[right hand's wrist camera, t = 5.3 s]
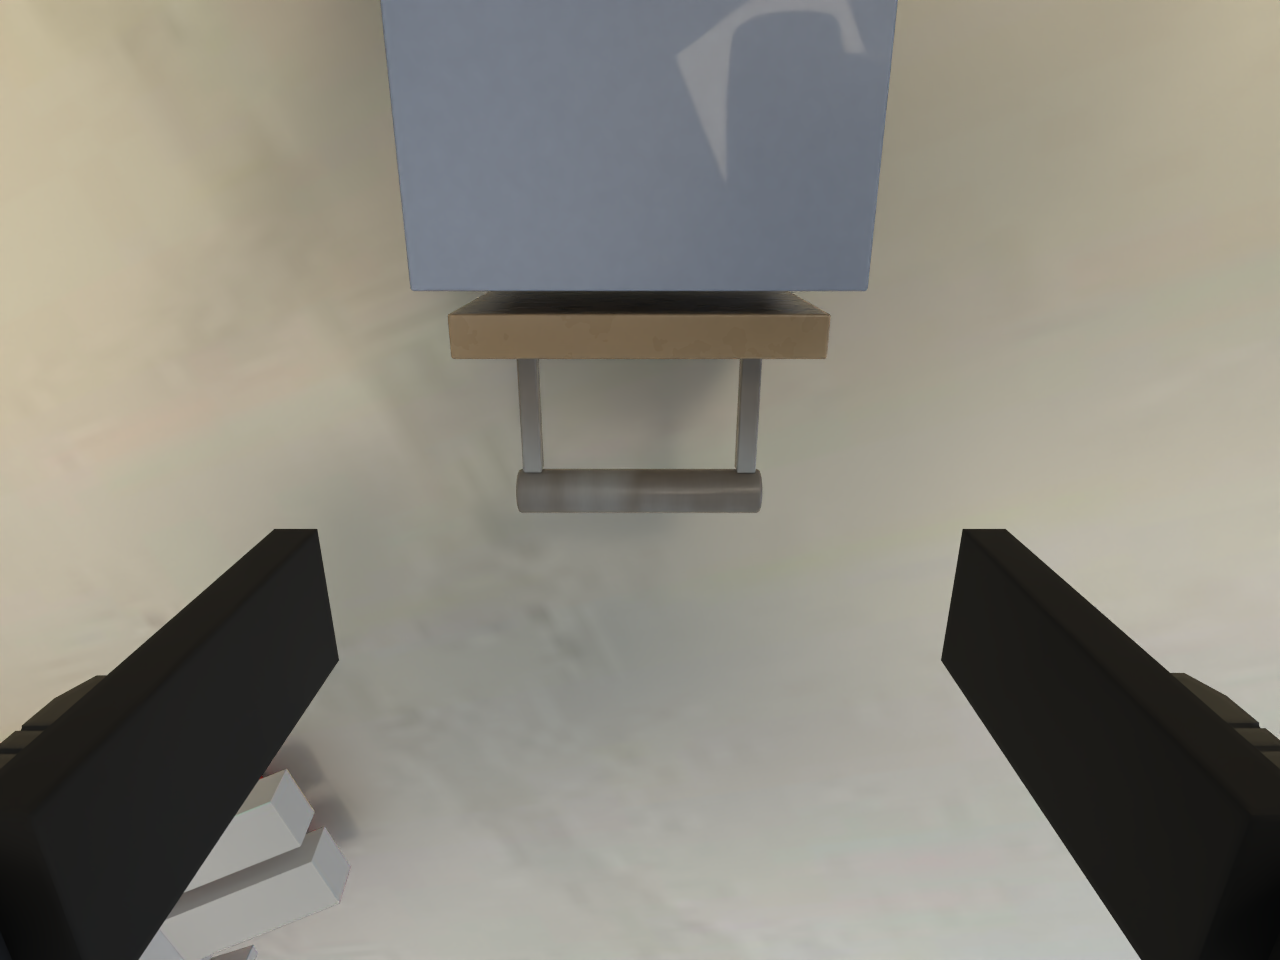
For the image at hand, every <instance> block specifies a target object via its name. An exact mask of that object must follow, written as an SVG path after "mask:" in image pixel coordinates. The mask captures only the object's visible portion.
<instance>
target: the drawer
mask: <svg viewBox="0 0 1280 960" xmlns="http://www.w3.org/2000/svg"><path fill="white" fill-rule="evenodd" d="M830 317H831V316H830V314H828V313H826V312H824V311H823V310H821V309H819V308H817V307H816V306H814V305H812V304H810V303H808V302H807V301H805V300H803V299H801V298H800V297H798V296H796V295H794V294H792V293H791V292H789V291H490V292H488V293H486V294H484V295H483V296H481V297H479V298H477V299H475V300H474V301H472V302H470V303H468V304H466V305H465V306H463V307H461V308H459V309H457V310H456V311H454V312H452V313H450V314H448V325H449V336H450V347H451V357H452V358H453V359H517V372H518V389H519V406H520V423H521V441H522V458H523V469H521V470H519V473H518V476H517V484H516V498H517V506H518V509H519V511H520V512H522V513H757V512H759V511H760V508H761V504H762V478H761V474H760V471H759V470H757V469H756V453H757V436H758V419H759V402H760V384H761V367H762V359H825V358H826V357H827V351H828V340H829V328H830ZM539 359H740V366H739V387H738V408H737V429H736V450H735V468H736V469H543V467H544V459H543V438H542V418H541V397H540V376H539Z"/></svg>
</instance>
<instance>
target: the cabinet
mask: <svg viewBox="0 0 1280 960" xmlns="http://www.w3.org/2000/svg"><path fill="white" fill-rule="evenodd" d="M380 2H381V12H382V21H383V31H384V40H385V50H386V59H387V69H388V78H389V88H390V97H391V107H392V116H393V126H394V135H395V145H396V154H397V164H398V173H399V183H400V192H401V202H402V211H403V221H404V230H405V240H406V250H407V259H408V269H409V278H410V288H411V290H413V291H866V290H867V288H868V280H869V270H870V260H871V251H872V241H873V232H874V222H875V213H876V203H877V194H878V184H879V175H880V165H881V155H882V146H883V136H884V127H885V117H886V108H887V98H888V89H889V79H890V70H891V60H892V50H893V41H894V31H895V22H896V12H897V3H898V0H380Z"/></svg>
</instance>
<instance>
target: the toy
mask: <svg viewBox="0 0 1280 960" xmlns="http://www.w3.org/2000/svg"><path fill="white" fill-rule="evenodd" d="M314 812H315V811H314V810H313V808H312V806H311V805H310V803H309V802H308V800H307V799H306V797H305V796H304V794H303V793H302V791H301V790H300V788H299V787H298V785H297V784H296V782H295V781H294V779H293V777H292V776H291V774H290V773H289V771H288V770H287V769H285V770H282V771H280V772H277V773H274V774H272V775H269V776H267V777H264V778H263V776H261V778H260V779H259V781H258V782H257V784H256V785H255V787H254V788H253V790H252V791H251V793H250V794H249V796H248V797H247V799H246V800H245V802H244V803H243V805H242V806H241V808H240V809H239V810H238V812H237V813H236V815H235V816H234V818H233V819H232V821H231V822H230V824H229V825H228V827H227V828H226V830H225V831H224V833H223V834H222V836H221V837H220V839H219V840H218V842H217V843H216V845H215V846H214V848H213V849H212V851H211V852H210V854H209V855H208V857H207V858H206V860H205V861H204V863H203V864H202V866H201V867H200V869H199V870H198V872H197V873H196V875H195V876H194V878H193V879H192V881H191V882H190V884H189V885H188V887H187V888H186V890H185V891H184V893H183V894H182V896H181V897H180V899H179V900H178V902H177V903H176V905H175V906H174V908H173V909H172V911H171V912H170V914H169V915H168V917H167V918H166V920H165V921H164V923H163V924H162V926H161V927H160V929H159V930H158V932H157V933H156V935H155V936H154V938H153V939H152V941H151V942H150V944H149V945H148V947H147V948H146V950H145V951H144V953H143V954H142V956H141V957H140V959H139V960H255V958H256V956H257V954H258V952H257V950H256V948H255V947H254V945H252V946H249V947H245V948H242V949H239V950H235V951H232V952H229V953H226V954H222V955H219V956H216V957H213V958H211V957H212V954H214V953H217V952H219V951H222V950H224V949H227V948H229V947H232V946H234V945H237V944H239V943H242V942H244V941H247V940H249V939H252V938H254V937H257V936H259V935H262V934H264V933H267V932H269V931H272V930H274V929H277V928H279V927H282V926H284V925H287V924H289V923H292V922H294V921H297V920H299V919H302V918H304V917H307V916H309V915H312V914H314V913H317V912H319V911H322V910H324V909H327V908H329V907H332V906H334V905H337V904H339V903H340V900H341V897H342V894H343V891H344V888H345V884H346V881H347V878H348V875H349V871H350V868H351V866H350V864H349V863H348V861H347V860H346V858H345V857H344V855H343V854H342V852H341V851H340V849H339V848H338V846H337V845H336V843H335V842H334V840H333V838H332V837H331V835H330V834H329V832H328V831H327V829H326V828H325V827H322V828H320V829H317V830H315V831H312V832H310V833H307V834H306V832H307V830H308V827H309V825H310V822H311V820H312V817H313V815H314Z"/></svg>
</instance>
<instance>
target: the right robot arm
mask: <svg viewBox="0 0 1280 960" xmlns="http://www.w3.org/2000/svg"><path fill="white" fill-rule="evenodd" d="M338 661H339V658H338V652H337V646H336V639H335V633H334V627H333V621H332V615H331V609H330V603H329V597H328V591H327V585H326V579H325V573H324V567H323V561H322V555H321V549H320V543H319V537H318V531H317V529H274V530H273V531H272V532H271V533H269V534H268V535H267V536H266V537H265V538H264V539H263V540H261V541H260V542H259V543H258V544H257V545H256V546H255V547H253V548H252V549H251V550H250V551H249V552H248V553H247V554H245V555H244V556H243V557H242V558H241V559H240V560H239V561H237V562H236V563H235V564H234V565H233V566H232V567H231V568H229V569H228V570H227V571H226V572H225V573H224V574H223V575H221V576H220V577H219V578H218V579H217V580H216V581H215V582H213V583H212V584H211V585H210V586H209V587H208V588H207V589H205V590H204V591H203V592H202V593H201V594H200V595H199V596H197V597H196V598H195V599H194V600H193V601H192V602H191V603H189V604H188V605H187V606H186V607H185V608H184V609H182V610H181V611H180V612H179V613H178V614H177V615H176V616H174V617H173V618H172V619H171V620H170V621H169V622H168V623H166V624H165V625H164V626H163V627H162V628H161V629H160V630H158V631H157V632H156V633H155V634H154V635H153V636H152V637H150V638H149V639H148V640H147V641H146V642H145V643H144V644H142V645H141V646H140V647H139V648H138V649H137V650H136V651H134V652H133V653H132V654H131V655H130V656H129V657H128V658H126V659H125V660H124V661H123V662H122V663H121V664H120V665H118V666H117V667H116V668H115V669H114V670H113V671H112V672H110V673H109V674H108V675H107V676H95V677H93V678H91V679H89V680H88V681H86V682H84V683H82V684H80V685H78V686H76V687H75V688H73V689H71V690H69V691H67V692H65V693H64V694H62V695H60V696H58V697H56V698H54V699H53V700H52V701H51V702H50V703H48V704H47V705H46V706H45V707H44V708H42V709H41V710H40V711H39V712H38V713H36V714H35V715H34V716H33V717H32V718H30V719H29V720H28V721H27V722H26V723H24V724H23V725H22V729H21V731H15V732H14V733H12V734H11V735H10V736H9V737H8V738H6V739H5V740H4V741H3V742H2V743H0V960H139V959H140V957H141V956H142V954H143V953H144V951H145V950H146V948H147V947H148V945H149V944H150V942H151V941H152V939H153V938H154V936H155V935H156V933H157V932H158V930H159V929H160V927H161V926H162V924H163V923H164V921H165V920H166V918H167V917H168V915H169V914H170V912H171V911H172V909H173V908H174V906H175V905H176V903H177V902H178V900H179V899H180V897H181V896H182V894H183V893H184V891H185V890H186V888H187V887H188V885H189V884H190V882H191V881H192V879H193V878H194V876H195V875H196V873H197V872H198V870H199V869H200V867H201V866H202V864H203V863H204V861H205V860H206V858H207V857H208V855H209V854H210V852H211V851H212V849H213V848H214V846H215V845H216V843H217V842H218V840H219V839H220V837H221V836H222V834H223V833H224V831H225V830H226V828H227V827H228V825H229V824H230V822H231V821H232V819H233V818H234V816H235V815H236V813H237V812H238V810H239V809H240V808H241V806H242V805H243V803H244V802H245V800H246V799H247V797H248V796H249V794H250V793H251V791H252V790H253V788H254V787H255V785H256V784H257V782H258V781H259V779H260V778H261V776H262V775H263V773H264V772H265V770H266V769H267V767H268V766H269V764H270V763H271V761H272V760H273V758H274V757H275V755H276V754H277V752H278V751H279V749H280V748H281V746H282V745H283V743H284V742H285V740H286V739H287V737H288V736H289V734H290V733H291V731H292V730H293V728H294V727H295V725H296V724H297V722H298V721H299V719H300V718H301V716H302V715H303V713H304V712H305V710H306V709H307V707H308V706H309V704H310V703H311V701H312V700H313V698H314V697H315V695H316V694H317V692H318V691H319V689H320V688H321V686H322V685H323V683H324V682H325V680H326V679H327V677H328V676H329V674H330V673H331V671H332V670H333V668H334V667H335V665H336V664H337V662H338ZM941 661H942V662H943V664H944V665H945V667H946V668H947V670H948V671H949V673H950V674H951V676H952V677H953V679H954V680H955V682H956V683H957V685H958V686H959V688H960V689H961V691H962V692H963V694H964V695H965V697H966V698H967V700H968V701H969V703H970V704H971V706H972V707H973V709H974V710H975V712H976V713H977V715H978V716H979V718H980V719H981V721H982V722H983V724H984V725H985V727H986V728H987V730H988V731H989V733H990V734H991V736H992V737H993V739H994V740H995V742H996V743H997V745H998V746H999V748H1000V749H1001V751H1002V752H1003V754H1004V755H1005V757H1006V758H1007V760H1008V761H1009V763H1010V764H1011V766H1012V767H1013V769H1014V770H1015V772H1016V773H1017V775H1018V776H1019V778H1020V779H1021V781H1022V782H1023V784H1024V785H1025V787H1026V788H1027V790H1028V791H1029V793H1030V794H1031V796H1032V797H1033V799H1034V800H1035V801H1036V803H1037V804H1038V806H1039V807H1040V809H1041V810H1042V812H1043V813H1044V815H1045V816H1046V818H1047V819H1048V821H1049V822H1050V824H1051V825H1052V827H1053V828H1054V830H1055V831H1056V833H1057V834H1058V836H1059V837H1060V839H1061V840H1062V842H1063V843H1064V845H1065V846H1066V848H1067V849H1068V851H1069V852H1070V854H1071V855H1072V857H1073V858H1074V860H1075V861H1076V863H1077V864H1078V866H1079V867H1080V869H1081V870H1082V872H1083V873H1084V875H1085V876H1086V878H1087V879H1088V881H1089V882H1090V884H1091V885H1092V887H1093V888H1094V890H1095V891H1096V893H1097V894H1098V896H1099V897H1100V899H1101V900H1102V902H1103V903H1104V905H1105V906H1106V908H1107V909H1108V911H1109V912H1110V914H1111V915H1112V917H1113V918H1114V920H1115V921H1116V923H1117V924H1118V926H1119V927H1120V929H1121V930H1122V932H1123V933H1124V935H1125V936H1126V938H1127V939H1128V941H1129V942H1130V944H1131V945H1132V947H1133V948H1134V950H1135V951H1136V953H1137V954H1138V956H1139V957H1140V959H1141V960H1280V740H1279V739H1278V738H1277V737H1275V736H1274V735H1273V734H1272V733H1271V732H1269V731H1268V730H1267V729H1266V728H1260V727H1259V722H1257V721H1256V720H1255V719H1254V718H1253V717H1251V716H1250V715H1249V714H1248V713H1246V712H1245V711H1244V710H1243V709H1242V708H1240V707H1239V706H1238V705H1237V704H1236V703H1234V702H1233V701H1232V700H1231V699H1230V698H1228V697H1227V696H1226V695H1224V694H1222V693H1220V692H1218V691H1216V690H1215V689H1213V688H1211V687H1209V686H1207V685H1205V684H1203V683H1202V682H1200V681H1198V680H1196V679H1194V678H1192V677H1191V676H1189V675H1187V674H1185V673H1170V672H1168V671H1167V670H1166V669H1165V668H1164V667H1163V666H1162V665H1160V664H1159V663H1158V662H1157V661H1156V660H1155V659H1154V658H1152V657H1151V656H1150V655H1149V654H1148V653H1147V652H1146V651H1144V650H1143V649H1142V648H1141V647H1140V646H1139V645H1138V644H1136V643H1135V642H1134V641H1133V640H1132V639H1131V638H1130V637H1128V636H1127V635H1126V634H1125V633H1124V632H1123V631H1122V630H1120V629H1119V628H1118V627H1117V626H1116V625H1115V624H1114V623H1112V622H1111V621H1110V620H1109V619H1108V618H1107V617H1106V616H1104V615H1103V614H1102V613H1101V612H1100V611H1099V610H1098V609H1096V608H1095V607H1094V606H1093V605H1092V604H1091V603H1090V602H1088V601H1087V600H1086V599H1085V598H1084V597H1083V596H1082V595H1080V594H1079V593H1078V592H1077V591H1076V590H1075V589H1073V588H1072V587H1071V586H1070V585H1069V584H1068V583H1067V582H1065V581H1064V580H1063V579H1062V578H1061V577H1060V576H1059V575H1057V574H1056V573H1055V572H1054V571H1053V570H1052V569H1051V568H1049V567H1048V566H1047V565H1046V564H1045V563H1044V562H1043V561H1041V560H1040V559H1039V558H1038V557H1037V556H1036V555H1035V554H1033V553H1032V552H1031V551H1030V550H1029V549H1028V548H1027V547H1025V546H1024V545H1023V544H1022V543H1021V542H1020V541H1019V540H1017V539H1016V538H1015V537H1014V536H1013V535H1012V534H1011V533H1009V532H1008V531H1007V530H1006V529H963V531H962V537H961V543H960V549H959V555H958V561H957V567H956V573H955V579H954V585H953V591H952V597H951V603H950V609H949V615H948V621H947V628H946V634H945V640H944V646H943V652H942V658H941Z"/></svg>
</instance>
